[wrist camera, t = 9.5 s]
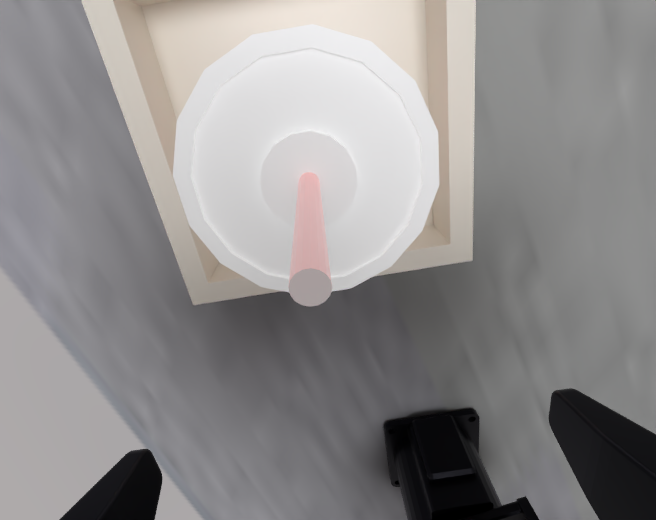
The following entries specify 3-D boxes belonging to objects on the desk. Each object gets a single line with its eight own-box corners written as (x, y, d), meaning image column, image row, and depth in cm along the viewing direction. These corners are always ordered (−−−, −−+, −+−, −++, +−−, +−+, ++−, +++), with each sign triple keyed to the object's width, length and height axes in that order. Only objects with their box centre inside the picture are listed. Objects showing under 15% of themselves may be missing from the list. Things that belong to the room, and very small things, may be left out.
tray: (446, 232, 20) (472, 260, 17) (211, 271, 20) (193, 305, 17) (440, -73, 15) (476, -118, 11) (117, -15, 15) (65, -42, 12)
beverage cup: (401, 98, 16) (733, 142, 4) (340, 220, 18) (410, 513, 6) (269, 27, 15) (48, -305, 2) (220, 168, 17) (-28, 404, 4)
